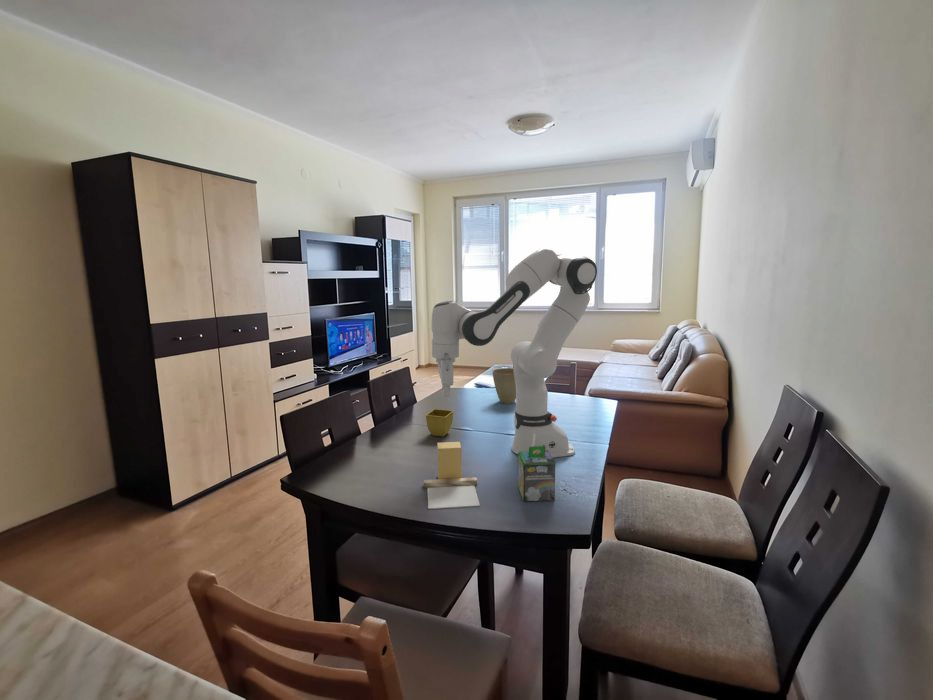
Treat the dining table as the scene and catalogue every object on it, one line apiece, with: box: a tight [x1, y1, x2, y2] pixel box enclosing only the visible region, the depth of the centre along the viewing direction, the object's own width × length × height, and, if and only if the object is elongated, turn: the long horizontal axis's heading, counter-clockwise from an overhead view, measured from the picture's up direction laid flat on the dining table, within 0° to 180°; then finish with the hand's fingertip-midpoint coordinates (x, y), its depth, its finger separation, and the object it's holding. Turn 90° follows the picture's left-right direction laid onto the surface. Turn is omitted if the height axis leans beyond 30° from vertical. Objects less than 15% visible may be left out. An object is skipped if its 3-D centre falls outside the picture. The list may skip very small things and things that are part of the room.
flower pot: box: [425, 408, 454, 437], centre depth 178 cm, size 9×9×9 cm
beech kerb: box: [423, 476, 478, 489], centre depth 134 cm, size 16×2×2 cm, turn 96°
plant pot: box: [491, 367, 516, 405], centre depth 224 cm, size 15×15×16 cm
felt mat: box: [426, 485, 481, 510], centre depth 126 cm, size 14×12×1 cm
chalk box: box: [517, 446, 556, 502], centre depth 127 cm, size 9×9×15 cm
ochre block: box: [437, 441, 463, 479], centre depth 137 cm, size 7×5×11 cm
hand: (445, 392), depth 146 cm, fingers open, 8 cm apart
